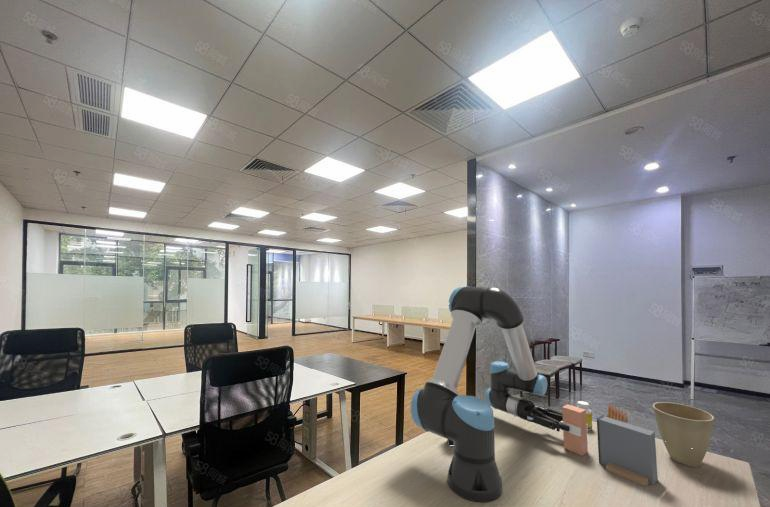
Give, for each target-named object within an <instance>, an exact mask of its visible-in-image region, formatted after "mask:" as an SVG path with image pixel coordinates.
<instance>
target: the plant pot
mask: <svg viewBox="0 0 770 507" xmlns="http://www.w3.org/2000/svg"><path fill="white" fill-rule="evenodd" d="M652 408H653V413H654V416H655V421H656V425H657V428H658V431H659V434H660V437H661V439H662V442H663V444H664V447H665V449H666V451H667V453H668V455H669V457H670V459H672V460H673V461H674V462H678V463H679V464H682V465H685V466H688V467H695V468H697V467H700V466H701V465H702V463H703V461H704V458H705V456H706V455H707V451H708V450H709V449H708V448H709V445H710V442H711V438H712V434H713V428H714V420H715V417H714V416H713V415H712V414H711V413H710V412H707V411H705V410H704V409H700V408H698V407H694V406H692V405H687V404H683V403H682V404H681V403H677V402H668V401H667V402H666V401H662V402H661V401H659V402H655V403H653V404H652ZM665 441H666V442H665ZM691 448H693V449H691Z"/></svg>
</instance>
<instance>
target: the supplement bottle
mask: <svg viewBox="0 0 770 507" xmlns="http://www.w3.org/2000/svg"><path fill="white" fill-rule="evenodd" d="M577 407H578V408H581V409H585V410H586V424H588V431H592V430H593V422H592V421H593V418H592V410H591V409H590V404H589V403H588V402H587V401H583V400H578V401H577Z"/></svg>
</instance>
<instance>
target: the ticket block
mask: <svg viewBox="0 0 770 507" xmlns="http://www.w3.org/2000/svg"><path fill="white" fill-rule="evenodd" d="M596 428H597V430H596V432H597V450H598V451H597V452H598V463H599V464H601V465H603V466H605V470H606V471H608V472H611V473H613V474H615V475H618V476H620V477H622V478H626V479H627V480H630V481H631V482H634V483H637V484H639V485H642V486H644V487H647V486H648V485H649V484H650V485H652V486H654V485H655V484H656V483H657V481H658V480H659V479H658V466H657V465H658V463H657V462H658V461H657V447H656V434H655V433H656V431H653V430H649V429H647V428H643V427H640V426H637V425H635V424H631V423H629V422H628V423H625V422H621V421H618V420H615V419H611V418H608V417H607V416H605V415H603V414H601V415H600V416H598V417H597V418H596Z"/></svg>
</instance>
